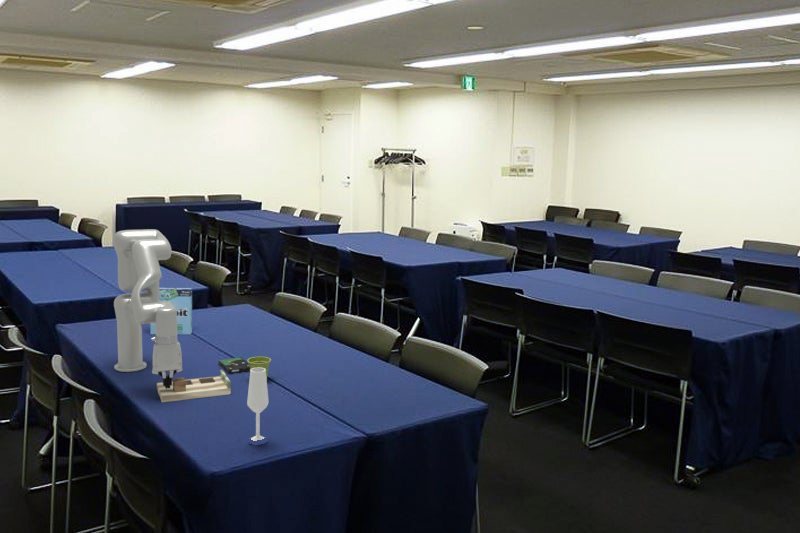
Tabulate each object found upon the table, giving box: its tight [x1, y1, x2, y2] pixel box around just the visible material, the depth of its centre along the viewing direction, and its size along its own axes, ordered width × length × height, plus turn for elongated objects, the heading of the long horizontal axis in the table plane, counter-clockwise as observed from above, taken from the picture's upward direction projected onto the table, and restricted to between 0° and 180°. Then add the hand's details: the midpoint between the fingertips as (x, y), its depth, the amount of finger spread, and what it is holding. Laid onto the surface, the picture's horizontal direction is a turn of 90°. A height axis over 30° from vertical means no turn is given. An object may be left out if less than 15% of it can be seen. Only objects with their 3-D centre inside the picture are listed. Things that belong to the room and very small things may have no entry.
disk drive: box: [218, 356, 250, 375], centre depth 289 cm, size 10×3×15 cm
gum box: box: [149, 287, 193, 336], centre depth 336 cm, size 20×5×23 cm, turn 99°
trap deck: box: [156, 369, 232, 403], centre depth 259 cm, size 15×25×5 cm, turn 116°
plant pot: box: [246, 356, 272, 379], centre depth 274 cm, size 9×9×9 cm
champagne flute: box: [246, 367, 270, 441], centre depth 216 cm, size 7×7×24 cm
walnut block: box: [172, 377, 187, 392], centre depth 253 cm, size 4×4×4 cm
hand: (167, 387), depth 252 cm, fingers closed
